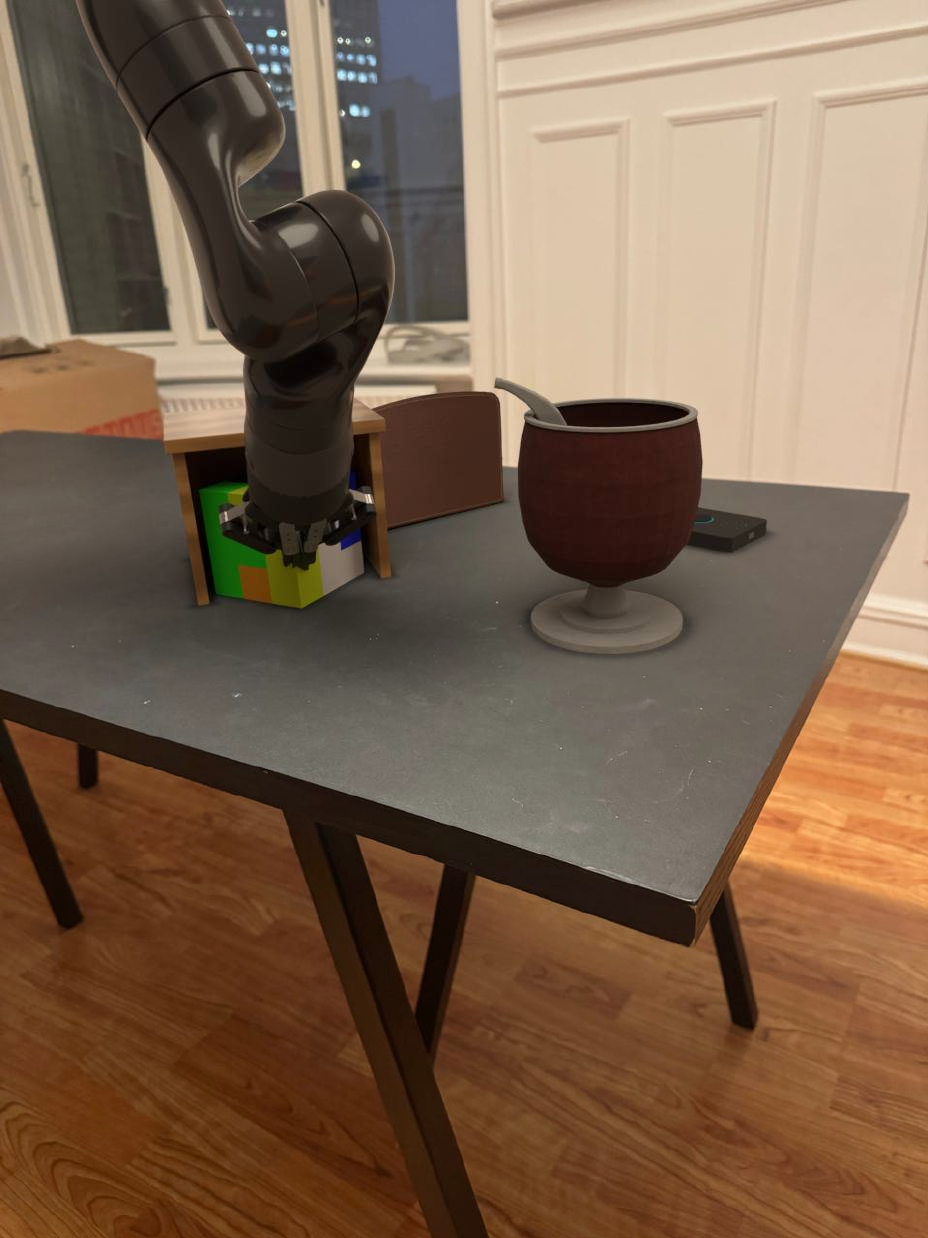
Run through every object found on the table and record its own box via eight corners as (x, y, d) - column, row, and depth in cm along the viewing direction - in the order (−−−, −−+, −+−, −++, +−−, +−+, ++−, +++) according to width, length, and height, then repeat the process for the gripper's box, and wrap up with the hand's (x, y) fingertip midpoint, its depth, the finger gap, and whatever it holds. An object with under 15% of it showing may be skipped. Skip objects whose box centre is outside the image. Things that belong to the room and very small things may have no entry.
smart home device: (731, 537, 86) (566, 506, 99) (730, 554, 87) (566, 520, 100) (770, 517, 92) (608, 490, 105) (768, 533, 92) (608, 504, 105)
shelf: (397, 578, 85) (384, 418, 79) (193, 608, 80) (163, 440, 74) (365, 535, 98) (352, 395, 92) (188, 559, 93) (162, 413, 87)
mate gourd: (672, 589, 79) (683, 356, 71) (712, 655, 66) (731, 380, 59) (498, 596, 79) (491, 365, 72) (505, 663, 67) (497, 391, 59)
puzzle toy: (364, 572, 87) (354, 472, 83) (301, 608, 79) (287, 499, 75) (283, 561, 91) (270, 465, 87) (216, 594, 83) (198, 489, 79)
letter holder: (505, 502, 108) (502, 384, 103) (364, 537, 98) (352, 407, 92) (457, 488, 116) (452, 377, 110) (322, 519, 105) (308, 397, 100)
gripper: (378, 398, 66) (362, 516, 82) (196, 415, 63) (216, 535, 79) (400, 482, 64) (379, 588, 79) (211, 505, 60) (228, 611, 76)
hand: (298, 561), depth 79 cm, fingers closed
